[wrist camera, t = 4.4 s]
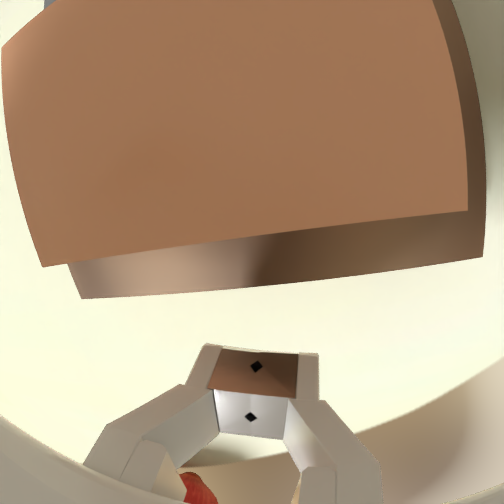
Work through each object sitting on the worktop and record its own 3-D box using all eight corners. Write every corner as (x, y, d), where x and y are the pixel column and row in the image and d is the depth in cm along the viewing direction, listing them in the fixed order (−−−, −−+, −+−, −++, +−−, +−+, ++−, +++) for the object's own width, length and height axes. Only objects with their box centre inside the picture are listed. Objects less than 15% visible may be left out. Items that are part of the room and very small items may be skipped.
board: (107, 276, 12) (81, 298, 10) (57, 58, 8) (24, 55, 7) (456, 234, 9) (482, 256, 7) (407, -32, 5) (424, -56, 4)
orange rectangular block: (106, 227, 9) (42, 267, 6) (70, 55, 7) (1, 47, 4) (411, 179, 7) (467, 210, 4) (363, -29, 5) (386, -89, 2)
